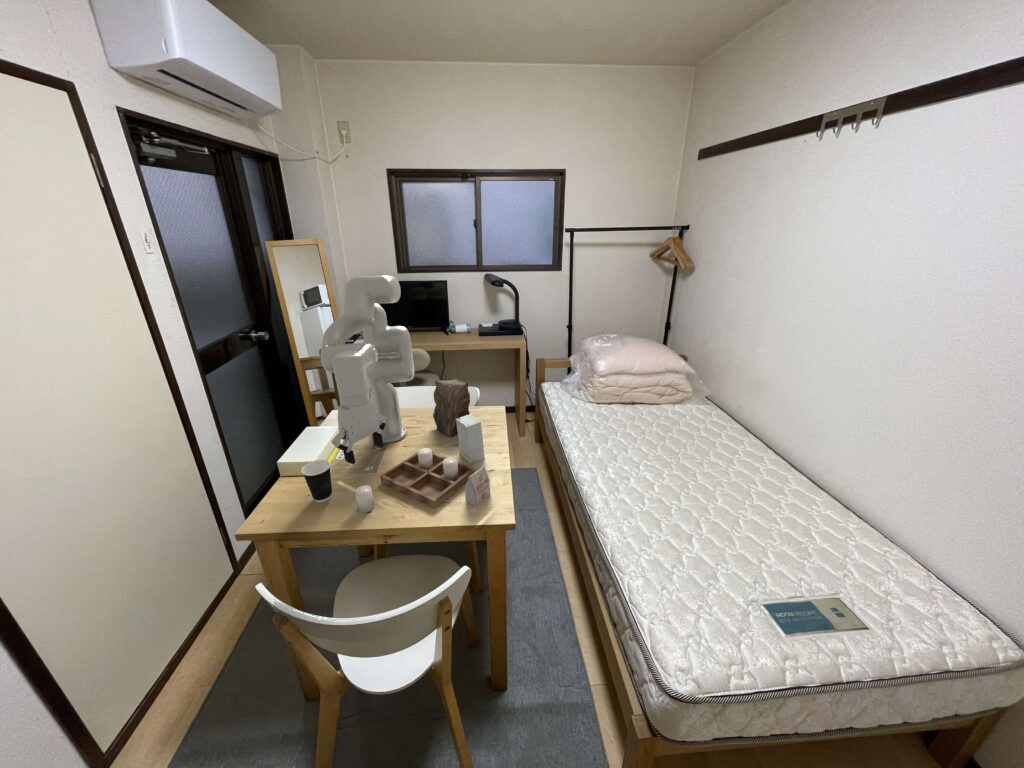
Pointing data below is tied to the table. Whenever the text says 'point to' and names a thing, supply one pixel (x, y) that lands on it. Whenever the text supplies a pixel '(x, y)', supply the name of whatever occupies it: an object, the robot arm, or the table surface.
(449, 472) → the egg right
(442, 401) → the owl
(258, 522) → the table surface
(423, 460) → the egg left
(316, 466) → the dixie cup
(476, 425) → the skincare box
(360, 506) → the egg
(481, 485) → the milk carton
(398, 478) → the rack
